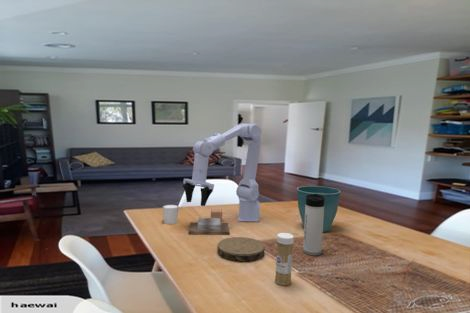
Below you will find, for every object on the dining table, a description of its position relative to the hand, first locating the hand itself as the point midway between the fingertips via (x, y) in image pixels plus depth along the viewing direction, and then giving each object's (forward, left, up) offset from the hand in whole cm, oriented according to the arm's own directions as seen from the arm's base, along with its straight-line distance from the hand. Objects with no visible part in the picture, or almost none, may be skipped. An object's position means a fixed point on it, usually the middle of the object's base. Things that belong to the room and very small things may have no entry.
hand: (195, 203), depth 132 cm
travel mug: (-42, +23, -11) cm, 49 cm away
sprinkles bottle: (-27, +45, -11) cm, 54 cm away
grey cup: (+11, -10, -11) cm, 19 cm away
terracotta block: (-9, -12, -11) cm, 18 cm away
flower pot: (-52, -4, -11) cm, 53 cm away
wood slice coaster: (-17, +24, -11) cm, 32 cm away
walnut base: (-6, 0, -11) cm, 12 cm away
